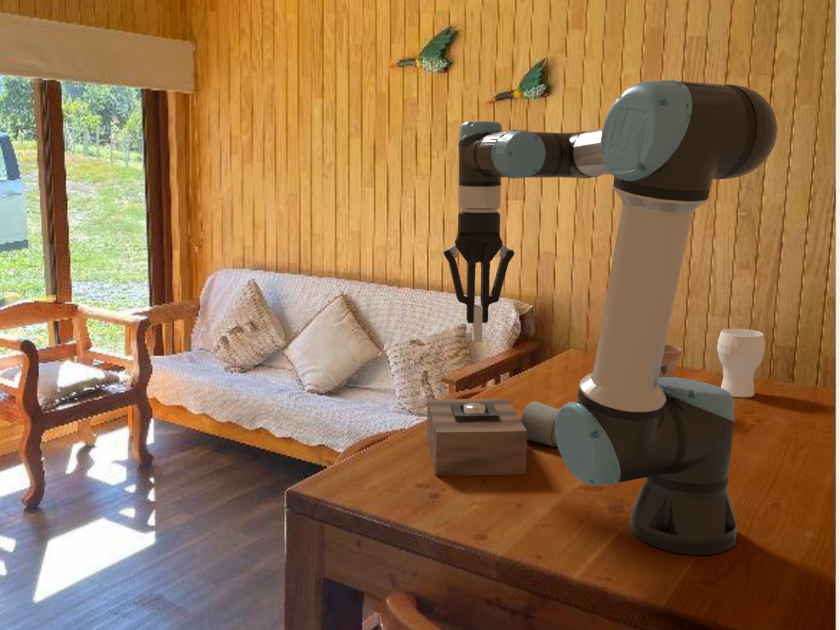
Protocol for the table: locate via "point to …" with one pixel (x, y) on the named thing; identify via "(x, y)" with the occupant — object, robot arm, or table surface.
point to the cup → (740, 359)
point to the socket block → (475, 438)
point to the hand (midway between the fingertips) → (476, 340)
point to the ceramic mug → (540, 423)
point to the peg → (474, 408)
